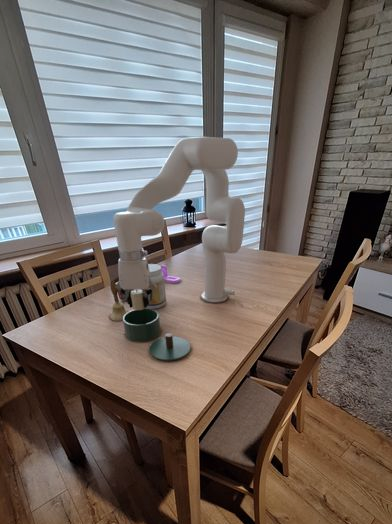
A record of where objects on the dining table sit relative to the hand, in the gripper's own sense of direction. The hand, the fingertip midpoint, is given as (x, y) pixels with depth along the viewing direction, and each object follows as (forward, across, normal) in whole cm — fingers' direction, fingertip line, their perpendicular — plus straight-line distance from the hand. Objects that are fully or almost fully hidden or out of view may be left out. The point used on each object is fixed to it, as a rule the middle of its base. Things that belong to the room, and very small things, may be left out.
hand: (138, 305), depth 99 cm
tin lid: (+11, -12, +11) cm, 20 cm away
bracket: (+11, -2, -55) cm, 56 cm away
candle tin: (+11, 0, 0) cm, 11 cm away
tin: (+11, +15, -33) cm, 38 cm away
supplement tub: (+11, +1, -25) cm, 28 cm away
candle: (+1, 0, 0) cm, 1 cm away
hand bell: (+12, +13, -13) cm, 22 cm away
